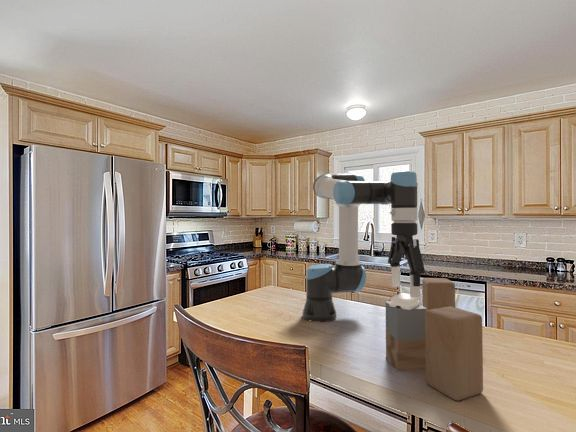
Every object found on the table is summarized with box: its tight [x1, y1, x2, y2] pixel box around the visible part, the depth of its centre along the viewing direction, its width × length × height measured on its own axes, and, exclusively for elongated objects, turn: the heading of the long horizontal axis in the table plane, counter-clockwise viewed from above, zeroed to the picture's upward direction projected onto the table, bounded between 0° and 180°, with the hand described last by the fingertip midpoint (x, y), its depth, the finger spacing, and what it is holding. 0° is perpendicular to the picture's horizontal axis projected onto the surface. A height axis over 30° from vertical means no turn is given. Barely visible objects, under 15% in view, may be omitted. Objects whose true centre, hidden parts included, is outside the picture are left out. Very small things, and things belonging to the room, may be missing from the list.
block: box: [425, 306, 484, 402], centre depth 84 cm, size 10×10×20 cm
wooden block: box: [421, 277, 456, 310], centre depth 127 cm, size 10×10×20 cm
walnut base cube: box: [385, 329, 426, 372], centre depth 99 cm, size 9×9×9 cm
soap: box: [389, 292, 421, 310], centre depth 99 cm, size 9×7×3 cm
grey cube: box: [385, 300, 427, 340], centre depth 99 cm, size 9×9×9 cm
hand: (404, 291), depth 99 cm, fingers open, 13 cm apart
